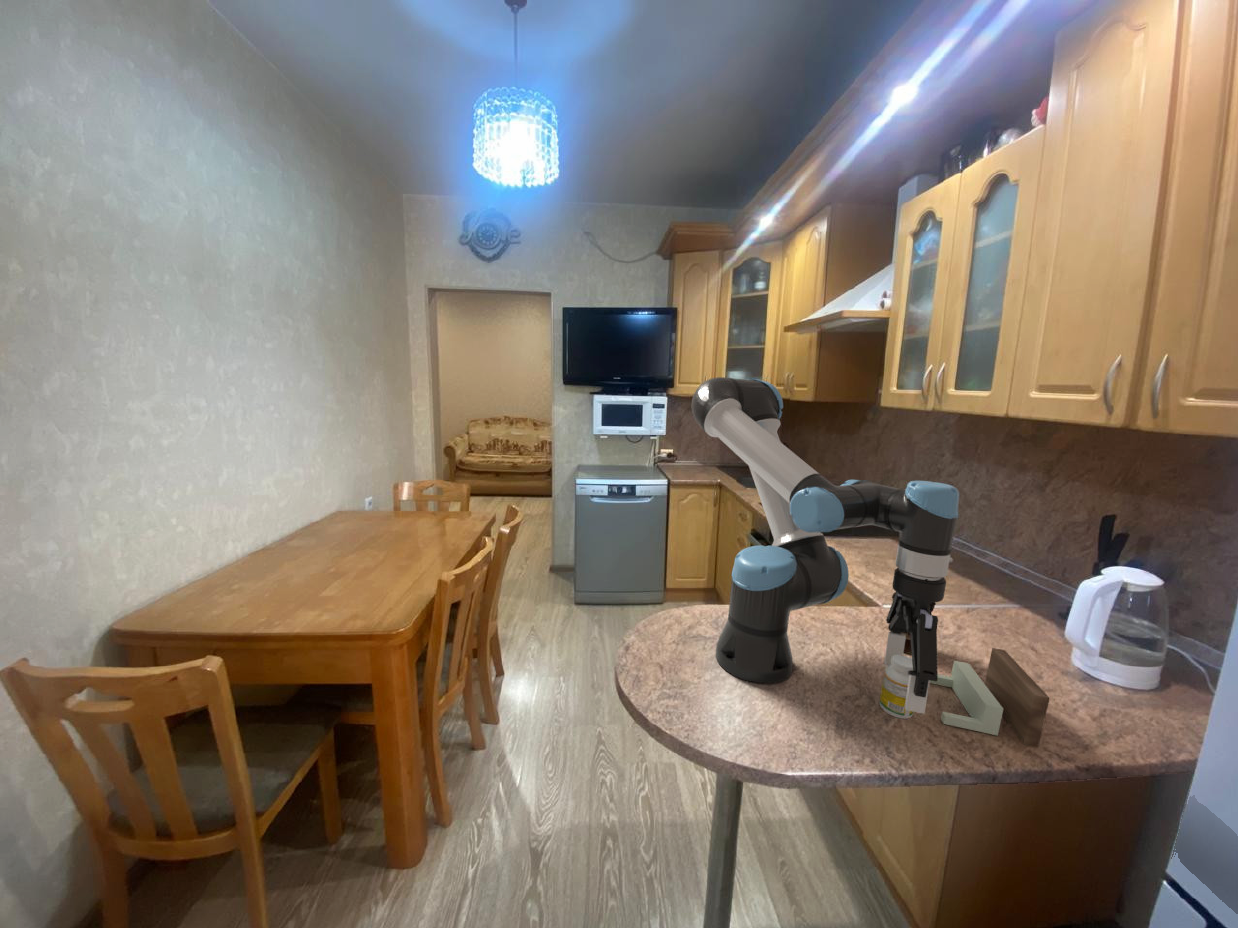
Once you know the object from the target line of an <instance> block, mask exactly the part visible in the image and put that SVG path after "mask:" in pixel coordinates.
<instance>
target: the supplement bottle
mask: <svg viewBox="0 0 1238 928" xmlns="http://www.w3.org/2000/svg"><path fill="white" fill-rule="evenodd" d="M910 670H912V671H913V665H912V657H908V656H906V655H904V654H903V655H893V656H892V659H891V665H889V666H886V667H885V669H884V675H883V680H882V685H881V690H880V691H881V692H880V697H879V705H880V706H879V707H881V709H882V711H884V712H885V713H887V715H890V716H892V717H895V718H898V719H903V720H906V719H910V718H912V717H913V715H914V712H913V711H908V710H906V709H905V701H906V695H907V688H908V682H909V676H910V675H909V674H908V671H910Z"/></svg>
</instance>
